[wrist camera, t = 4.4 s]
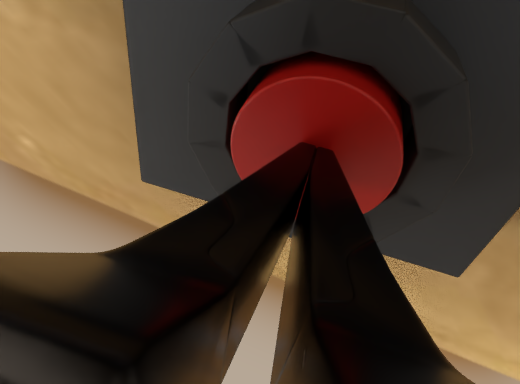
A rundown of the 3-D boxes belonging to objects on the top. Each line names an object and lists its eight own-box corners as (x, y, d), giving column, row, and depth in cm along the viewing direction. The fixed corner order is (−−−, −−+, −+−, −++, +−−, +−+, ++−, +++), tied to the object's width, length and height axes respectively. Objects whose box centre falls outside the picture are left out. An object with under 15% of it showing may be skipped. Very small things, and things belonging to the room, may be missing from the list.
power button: (430, 67, 9) (437, 106, 8) (370, 195, 12) (367, 241, 11) (263, 27, 10) (237, 54, 8) (245, 159, 13) (223, 198, 11)
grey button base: (648, -43, 9) (797, 0, 6) (450, 228, 16) (466, 321, 12) (161, -137, 10) (52, -149, 7) (170, 147, 17) (116, 210, 14)
